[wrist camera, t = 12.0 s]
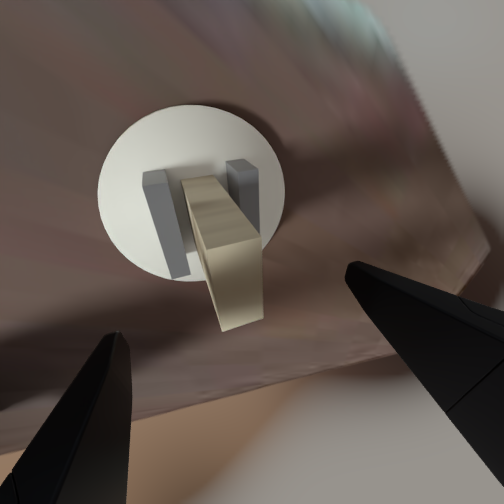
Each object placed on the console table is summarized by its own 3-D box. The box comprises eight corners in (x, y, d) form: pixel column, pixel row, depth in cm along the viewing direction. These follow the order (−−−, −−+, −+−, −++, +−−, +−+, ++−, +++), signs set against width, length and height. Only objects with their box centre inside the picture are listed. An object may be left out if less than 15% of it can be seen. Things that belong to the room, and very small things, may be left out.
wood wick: (221, 236, 17) (263, 317, 11) (194, 242, 17) (222, 331, 10) (213, 174, 14) (261, 236, 8) (180, 179, 14) (206, 249, 8)
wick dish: (276, 254, 21) (295, 277, 19) (138, 290, 18) (136, 324, 16) (281, 98, 14) (312, 100, 12) (58, 112, 11) (30, 119, 9)
